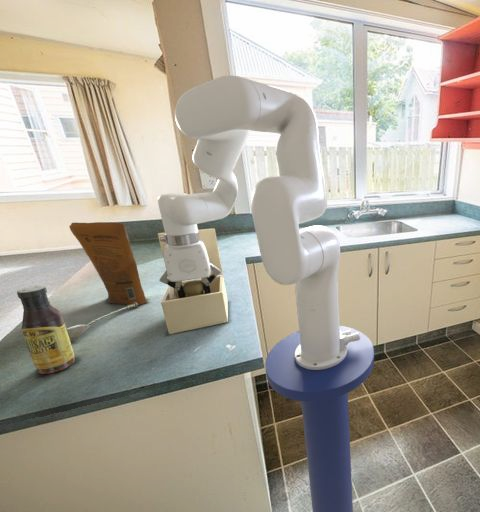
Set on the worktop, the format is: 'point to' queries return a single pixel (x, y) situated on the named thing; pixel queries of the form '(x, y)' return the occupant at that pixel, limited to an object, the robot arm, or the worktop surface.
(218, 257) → the lid
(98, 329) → the worktop surface
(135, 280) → the pancake mix bag
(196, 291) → the cork
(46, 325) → the sauce bottle
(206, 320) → the cream open box
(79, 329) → the soupspoon
